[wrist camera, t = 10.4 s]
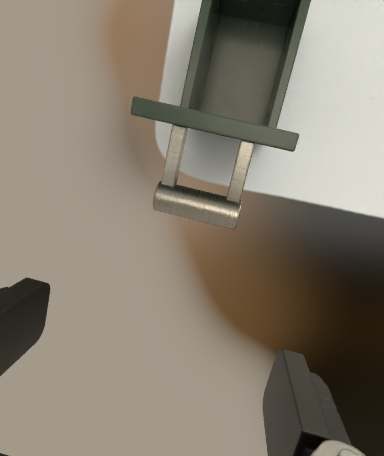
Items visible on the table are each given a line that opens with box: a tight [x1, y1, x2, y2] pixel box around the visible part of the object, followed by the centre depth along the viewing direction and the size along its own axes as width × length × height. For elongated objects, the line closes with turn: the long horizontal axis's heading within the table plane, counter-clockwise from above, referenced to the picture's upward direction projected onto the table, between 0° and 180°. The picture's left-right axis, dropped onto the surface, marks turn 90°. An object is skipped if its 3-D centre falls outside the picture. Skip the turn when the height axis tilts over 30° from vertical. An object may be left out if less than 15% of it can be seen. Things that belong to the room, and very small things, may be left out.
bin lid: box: [131, 97, 299, 230], centre depth 22 cm, size 12×8×5 cm
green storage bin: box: [180, 0, 311, 128], centre depth 29 cm, size 11×8×8 cm
